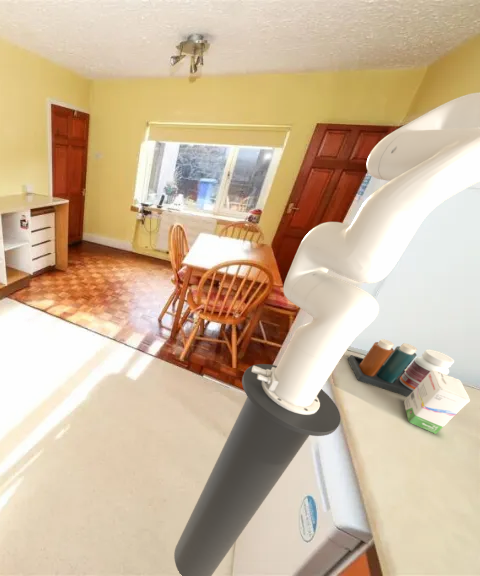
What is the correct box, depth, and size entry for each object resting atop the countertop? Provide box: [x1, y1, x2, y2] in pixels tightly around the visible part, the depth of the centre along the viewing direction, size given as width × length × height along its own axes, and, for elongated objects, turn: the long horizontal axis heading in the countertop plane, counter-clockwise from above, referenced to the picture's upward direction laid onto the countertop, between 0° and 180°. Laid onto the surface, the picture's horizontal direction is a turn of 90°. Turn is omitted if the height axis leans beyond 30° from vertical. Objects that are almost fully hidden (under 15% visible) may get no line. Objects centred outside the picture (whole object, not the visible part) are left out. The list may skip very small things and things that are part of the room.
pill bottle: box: [400, 348, 455, 391], centre depth 73 cm, size 6×6×11 cm
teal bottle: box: [377, 342, 418, 383], centre depth 76 cm, size 4×4×12 cm
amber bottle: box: [359, 338, 395, 376], centre depth 77 cm, size 4×4×11 cm
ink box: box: [403, 370, 471, 435], centre depth 64 cm, size 8×5×12 cm, turn 139°
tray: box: [347, 354, 413, 397], centre depth 77 cm, size 19×11×2 cm, turn 62°
